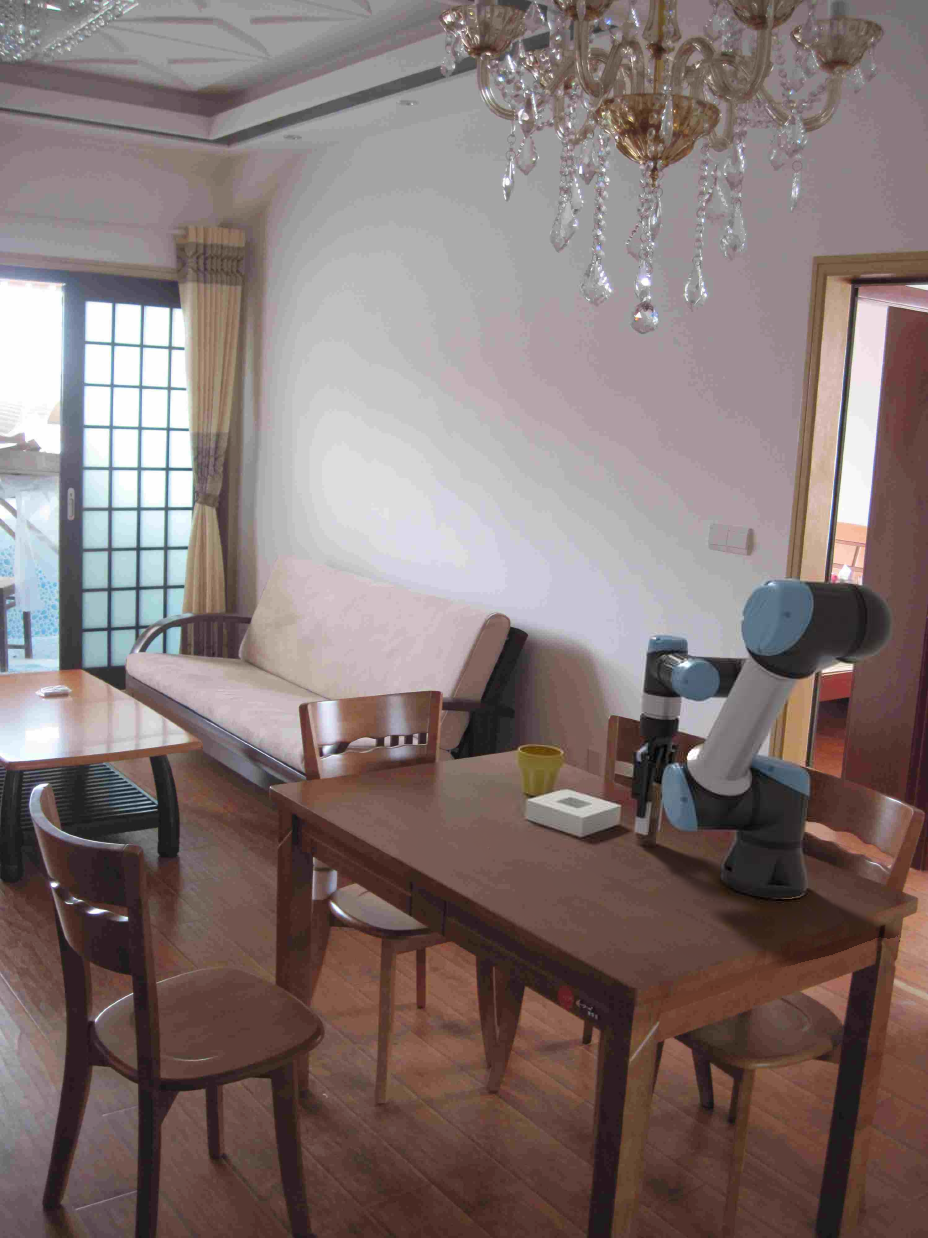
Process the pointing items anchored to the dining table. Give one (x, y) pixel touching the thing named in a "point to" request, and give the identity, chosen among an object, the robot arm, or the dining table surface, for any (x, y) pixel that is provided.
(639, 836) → the peg
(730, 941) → the dining table surface
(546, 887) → the dining table surface
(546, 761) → the plant pot
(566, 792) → the socket block
